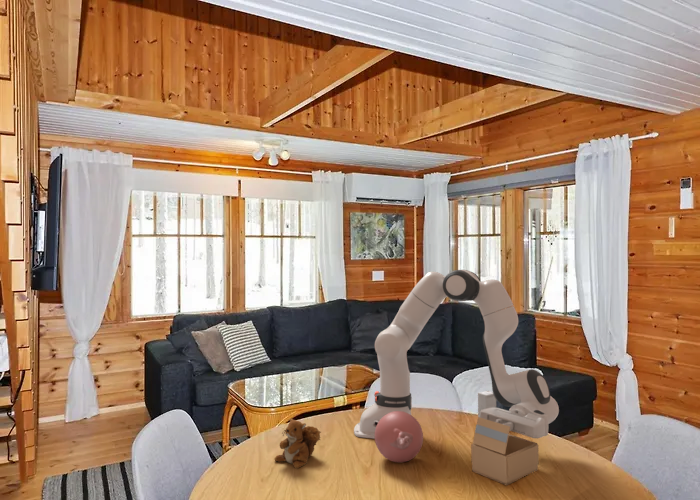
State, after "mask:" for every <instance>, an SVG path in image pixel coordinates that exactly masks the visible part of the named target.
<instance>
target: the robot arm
mask: <svg viewBox="0 0 700 500" xmlns="http://www.w3.org/2000/svg"><path fill="white" fill-rule="evenodd" d="M446 298H449V299H451V300H452V301H455V302H467V301H469V302H470V301H473V302H474V303H475V304H477V306H478V308H479V311H480V313H481V315H482V316H481V317H482V318H483V323H484V332H483V334H482V343H483V345H482V346H483V349H484V354H485V358H486V362H487V365H488V371H489V373H490V379H491V390H492V392H493V395H494V397H495V398H496V402H499V404H501V405H503V406H504V407H510V408H509V410H507V409H505V408H504V409H503V408H500V407H496V408H487V409H483V410H481V411H480V418H483V419H487V420H490V421H493V422H496V423H500V424H503V425H506V426H509V427H510V431H509V432H513V433H516V434H519V435H522V436H526V437H529V438H532V439H540V438H544V437H547V436H548V435H549V424H551V423H553V422H554V421H555V420H556V418H557V417H558V415H559V412H560V409H559V408H560V407H559V405H558V402H557V401H556V399H555V398H553V397H552V396H551V390H550V386H549V383H548V381H547V379H546V377H544V375H543V374H542V373H540V372H539V371H538V370H536V369H533V368H531V369H526V370H523V371H519V372H515V373H511V374H509V373H508V372H507V368H506V365H505V361H504V357H503V353H502V351H503V350H502V348H503V344H504V343H505V342H506V340H508V339H509V338H510V337H511V336H512V335H513V334H514V333H515V332H516V330H517V327H518V325H519V317H518V312H517V311H516V308H515V306H514V303H513V301H512V299H511V297H510V295H509V292H508V291H507V290H506V288H505V286H504V285H503V283H502V282H500V281H499V280H497V279H487V280H486V279H485V280H482V281H481V279H480V277H479V276H478V275H477V274H476V273H475V272H472V271H471V270H468V269H455V270H452V271H450V272H448V273H447V274H446V275H444V274H442V273H440V272H438V271H429V272H426V273H425V275H424V276H423V277H422V278H421V279H419V281H418V282H417V283H416V284H415V286H414V287H413V288H412V290H411V291H410V293H408V296H407V297H406V298H405V300H404V301H403V303H402V304H401V305H400V307H399V310H398V312H397V313H396V315H395V316H394V319H393V320H392V322H391V323H390V325H389V326H388V327H387V328H385V329H384V330H382V331H380V332H379V334H378V335H377V337H376V338H375V341H374V350H375V353H376V354H377V355H376V357H377V362H378V367H379V379H380V380H379V384H380V385H379V387H380V390H379V391H380V392H379V391H378V390H376V391H375V392H374V394H373V395H374V403H373V404H371V406H369V407H368V408H366V409H365V410H364V411H363V412H362V414H361V415H360V419H359V422H358V423H357V424H355V426H354V428H353V434H354V436H355V437H358V438H364V439H366V438H367V439H373V440H375V429H376V426H377V424H378V422H379V421H380V419H381V418H382V417H383V416H385V415H386V414H388V413H390V412H394V411H402V412H406V413H408V414H410V415H412V406H413V404H412V403H413V401H412V399H413V398H412V393H411V371H410V369H409V364H408V357H407V356H408V355H407V354H408V353H407V352H408V350H409V351H410V349H411V347H412V346H413V345H414V343H415V342H416V340H417V338H418V337H419V335H420V333H421V332H422V330H423V329H424V327H425V326H426V324H427V323H428V321H429V319H431V317H432V316H433V314H434V313H435V311H436V310H437V309H438V308H439V306H440V305H441V303H442V302H443V300H445V299H446Z"/></svg>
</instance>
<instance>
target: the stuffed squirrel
mask: <svg viewBox="0 0 700 500" xmlns="http://www.w3.org/2000/svg"><path fill="white" fill-rule="evenodd" d="M321 433H322V431H320V430H319V429H318V428H317V427H314V426H310V425H308V426H307V424H306V423H302V422H301V421H300V420H296V419H293V418H290V420H289V422H288V426H287V427H286V428H285V429H284V430H283V431H282V433H281V435H282V437H284V436H285V435H286V437H287V438H284V439H283V440H281V441H280V442H279V448H280V449H281V450H283V452H282V454H277V455H276V456H275V457H274V462H276V461H278V462H277V463H280V462H281V461H284V462H287V463H289V464H292V463H293V464H292V465H293V466H294V468H295V469H299V467H300V468H302V467H304V466H305V465H306V464H307V463H308V459H309V458H310V457H311V455H313V453H314V451H315V446H317V443H318V442H319V441H321V438H322V437H321ZM281 463H282V462H281ZM304 464H305V465H304ZM301 466H302V467H301Z"/></svg>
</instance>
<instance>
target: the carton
mask: <svg viewBox="0 0 700 500" xmlns="http://www.w3.org/2000/svg"><path fill="white" fill-rule="evenodd" d="M470 448H471V451H470V452H471V454H470V455H471V468H472V470H471V471H472V472H473V473H474V474H475V473H476V474H478V475H481V476H483V477H485V478H488V479H489V480H492V481H495V482H497V483H499V484H502V485H504V486H508V485H510V484H512V483H515V482H517V481H519V480H520V478H521V479H523V478H524V476H525V477H526V475H527V476H529V475H530V473H531V474H533V473H534V471H535V472H536V471H538V470H539V469H538V468H539V463H540V462H539V459H540V458H539V444H538V442H534V441H532V440H529V439H526V438H525V439H524V438H522V437H519V436H516V435H513V434H510V433H509V437H508V442H507V447H506V453H505V454H502V453H499V452H496V451H493V450H490V449H488V448H485V447H482V446H479V445H477V444H474V443H473V442H472V443H471V447H470ZM532 472H533V473H532ZM528 474H529V475H528ZM522 477H523V478H522ZM518 479H519V480H518Z"/></svg>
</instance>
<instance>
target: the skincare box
mask: <svg viewBox="0 0 700 500" xmlns="http://www.w3.org/2000/svg"><path fill="white" fill-rule="evenodd" d="M487 408H497V400H496V398H495V397H494V395H493V391H490V390H486V391H479V392H477V414H478V415H477V418H478V417H480V411H481V410H483V409H487Z"/></svg>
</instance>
